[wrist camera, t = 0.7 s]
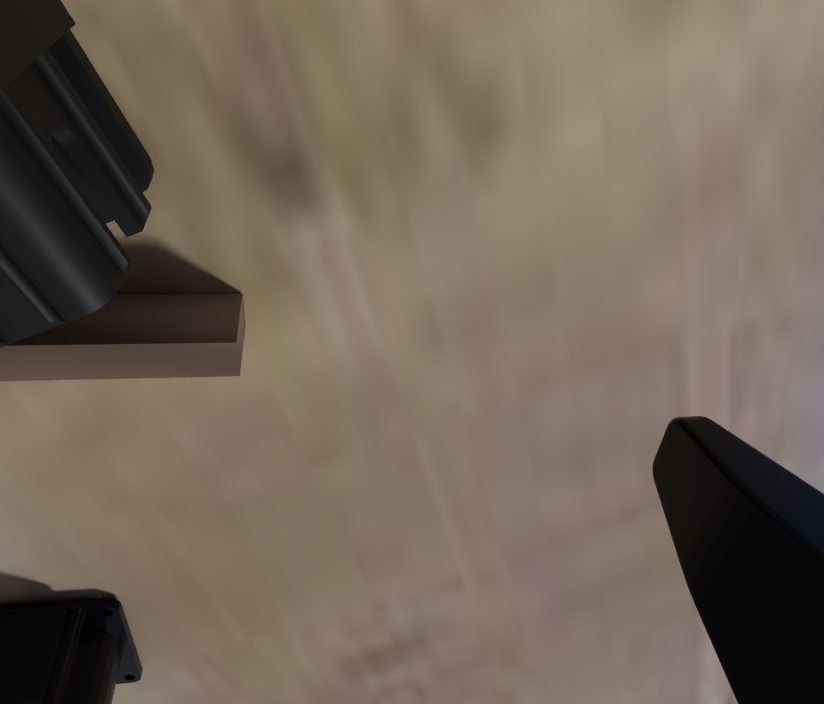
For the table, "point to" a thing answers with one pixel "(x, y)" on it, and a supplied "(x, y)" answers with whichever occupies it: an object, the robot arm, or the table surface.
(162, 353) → the rail
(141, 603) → the table surface
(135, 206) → the end cap
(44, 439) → the table surface
